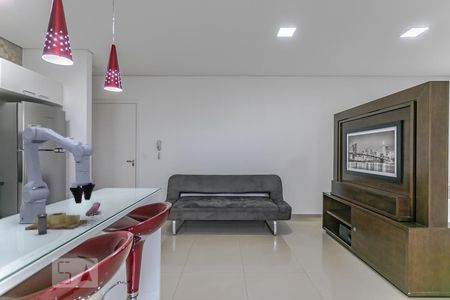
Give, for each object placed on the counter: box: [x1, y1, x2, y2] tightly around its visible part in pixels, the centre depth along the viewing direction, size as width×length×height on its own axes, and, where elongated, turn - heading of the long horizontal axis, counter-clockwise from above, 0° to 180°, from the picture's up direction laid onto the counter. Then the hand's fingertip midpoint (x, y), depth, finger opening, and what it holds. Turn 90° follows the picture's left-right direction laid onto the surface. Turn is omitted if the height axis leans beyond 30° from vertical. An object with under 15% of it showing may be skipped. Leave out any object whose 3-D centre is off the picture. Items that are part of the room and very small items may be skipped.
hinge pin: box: [37, 213, 48, 236], centre depth 104 cm, size 3×3×8 cm
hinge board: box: [24, 219, 88, 231], centre depth 115 cm, size 20×11×1 cm, turn 90°
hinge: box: [34, 212, 81, 226], centre depth 115 cm, size 19×6×4 cm, turn 90°
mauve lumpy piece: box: [85, 201, 101, 217], centre depth 137 cm, size 10×5×7 cm, turn 17°
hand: (83, 201), depth 118 cm, fingers open, 7 cm apart
